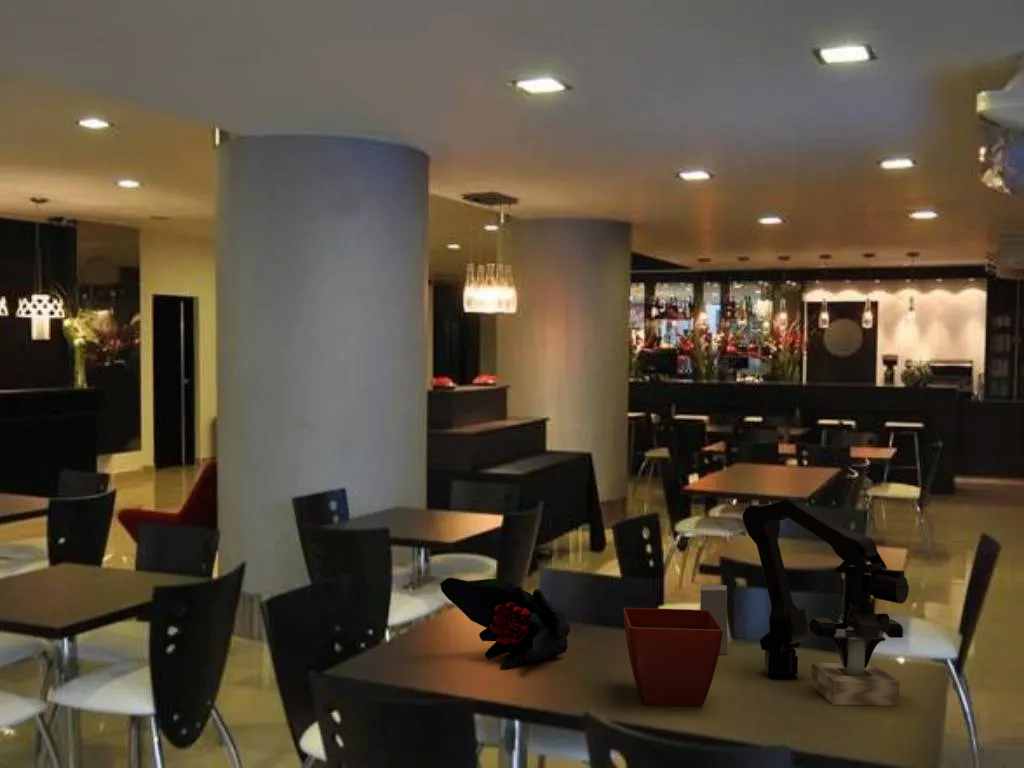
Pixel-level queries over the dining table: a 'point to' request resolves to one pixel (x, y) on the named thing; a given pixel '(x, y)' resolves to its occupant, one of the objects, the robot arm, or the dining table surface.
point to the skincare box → (716, 608)
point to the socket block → (855, 685)
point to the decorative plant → (510, 618)
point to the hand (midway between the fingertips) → (854, 667)
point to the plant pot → (672, 653)
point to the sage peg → (855, 657)
